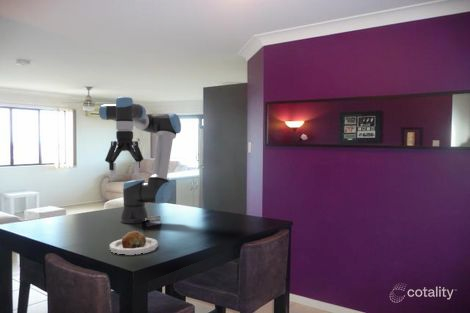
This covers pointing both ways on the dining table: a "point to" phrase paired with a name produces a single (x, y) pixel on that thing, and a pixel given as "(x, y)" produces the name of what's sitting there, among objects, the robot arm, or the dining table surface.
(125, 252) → the dish
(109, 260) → the dining table surface
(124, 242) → the bread roll
